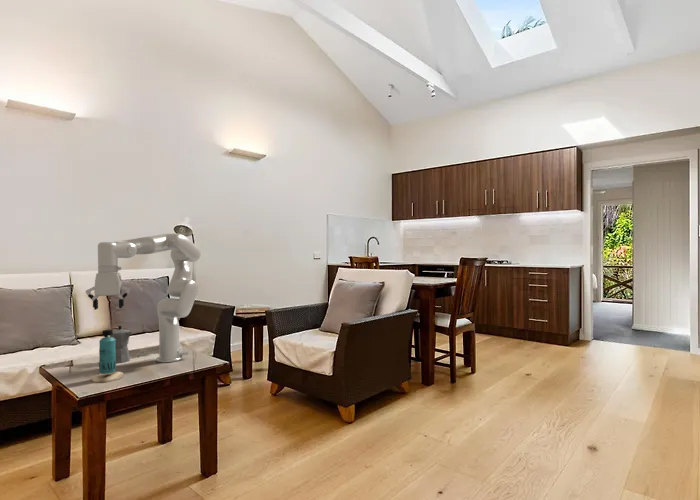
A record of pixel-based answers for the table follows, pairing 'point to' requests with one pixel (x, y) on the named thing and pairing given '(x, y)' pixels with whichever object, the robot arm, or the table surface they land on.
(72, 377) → the table surface
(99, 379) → the disc
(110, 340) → the beverage bottle
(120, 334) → the coffeepot
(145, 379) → the table surface
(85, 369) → the table surface
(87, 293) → the robot arm
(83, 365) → the table surface
